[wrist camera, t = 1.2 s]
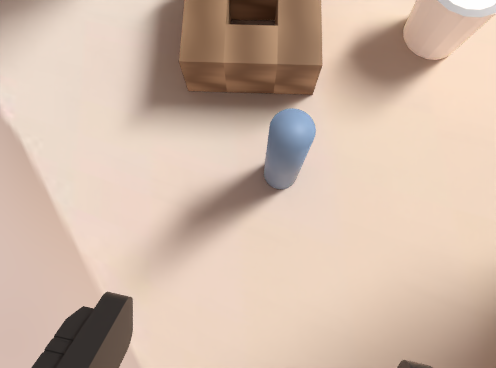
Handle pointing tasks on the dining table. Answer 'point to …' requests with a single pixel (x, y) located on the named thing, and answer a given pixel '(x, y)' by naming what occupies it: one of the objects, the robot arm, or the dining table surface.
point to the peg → (287, 146)
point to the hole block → (251, 46)
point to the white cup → (444, 25)
